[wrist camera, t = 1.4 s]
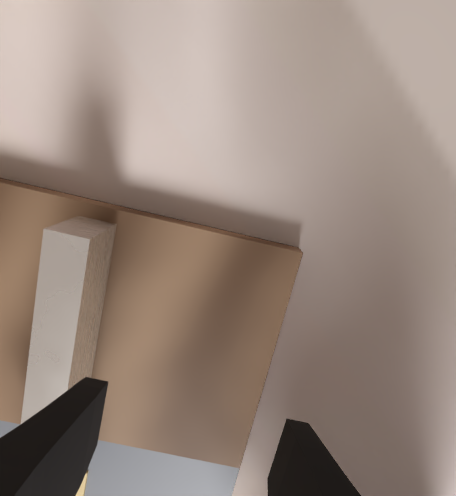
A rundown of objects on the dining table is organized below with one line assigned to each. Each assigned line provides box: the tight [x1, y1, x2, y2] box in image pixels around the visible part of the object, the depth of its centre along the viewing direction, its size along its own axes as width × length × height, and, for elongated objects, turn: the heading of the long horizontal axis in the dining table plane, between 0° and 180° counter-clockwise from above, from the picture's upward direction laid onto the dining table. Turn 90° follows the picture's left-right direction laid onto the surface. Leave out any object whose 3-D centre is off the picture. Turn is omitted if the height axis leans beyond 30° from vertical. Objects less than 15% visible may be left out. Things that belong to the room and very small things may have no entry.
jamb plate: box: [0, 178, 303, 468], centre depth 18 cm, size 18×12×1 cm, turn 77°
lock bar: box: [21, 216, 117, 424], centre depth 15 cm, size 13×3×3 cm, turn 167°
